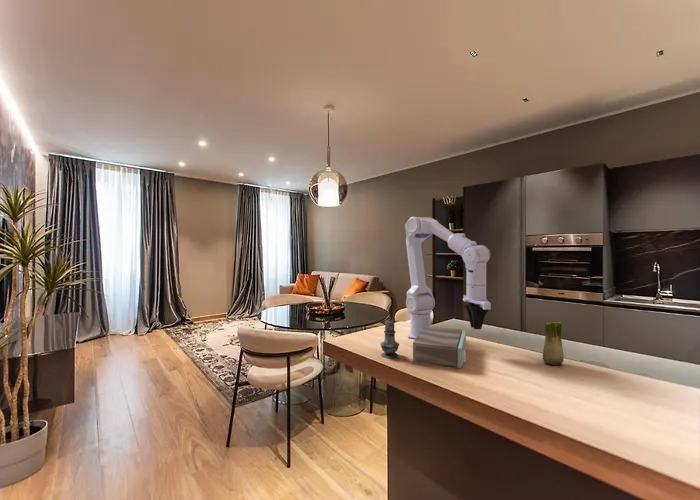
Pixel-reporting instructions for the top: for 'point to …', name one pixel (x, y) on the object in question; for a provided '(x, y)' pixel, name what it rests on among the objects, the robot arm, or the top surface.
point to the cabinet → (437, 347)
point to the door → (461, 350)
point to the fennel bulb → (553, 344)
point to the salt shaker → (389, 341)
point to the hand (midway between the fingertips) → (476, 328)
